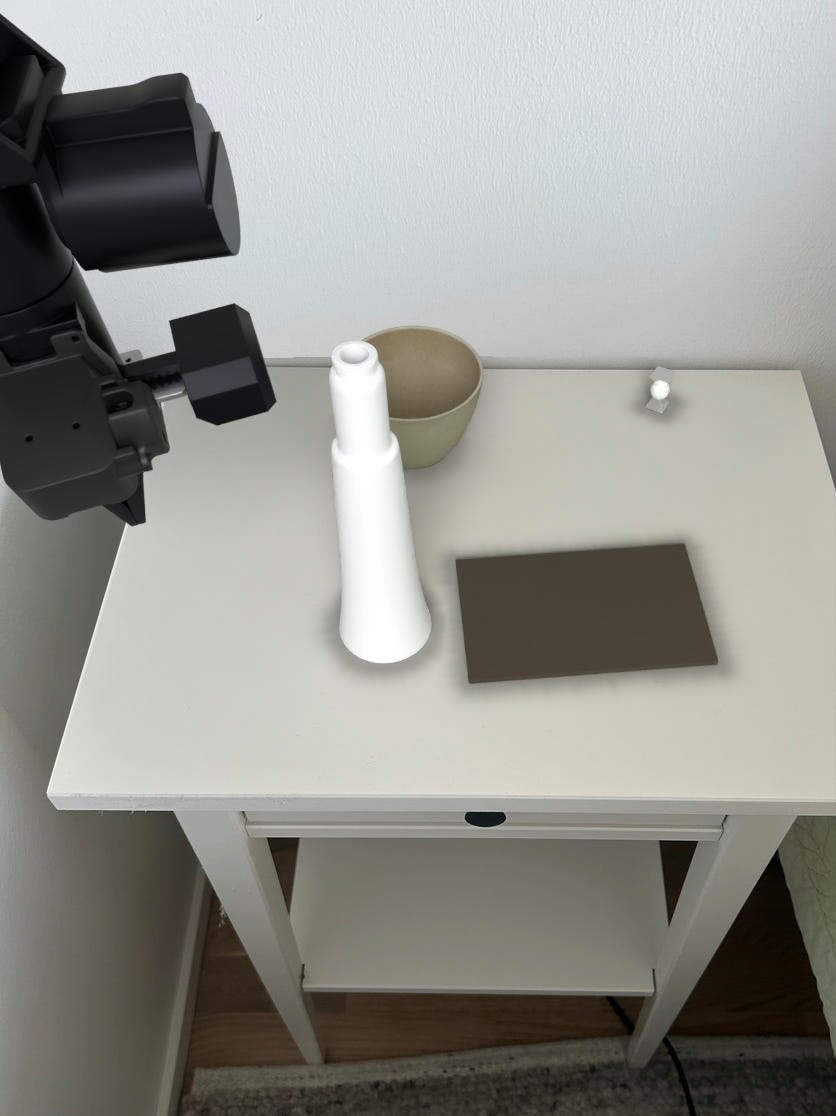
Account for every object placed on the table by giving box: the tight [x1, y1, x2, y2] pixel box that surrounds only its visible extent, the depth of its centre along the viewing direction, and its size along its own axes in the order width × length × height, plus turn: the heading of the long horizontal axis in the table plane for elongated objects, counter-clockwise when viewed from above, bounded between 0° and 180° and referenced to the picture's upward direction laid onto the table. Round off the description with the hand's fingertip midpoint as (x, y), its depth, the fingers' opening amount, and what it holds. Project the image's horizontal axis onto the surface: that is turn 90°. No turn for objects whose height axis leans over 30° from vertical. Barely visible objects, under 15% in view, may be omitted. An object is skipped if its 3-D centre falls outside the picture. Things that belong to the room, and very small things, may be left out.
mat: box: [455, 543, 719, 685], centre depth 67 cm, size 16×10×1 cm, turn 96°
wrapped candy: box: [644, 365, 677, 414], centre depth 77 cm, size 2×2×3 cm
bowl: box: [360, 325, 484, 470], centre depth 73 cm, size 10×10×7 cm
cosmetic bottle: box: [328, 340, 433, 664], centre depth 57 cm, size 6×6×22 cm
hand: (138, 519), depth 56 cm, fingers closed
